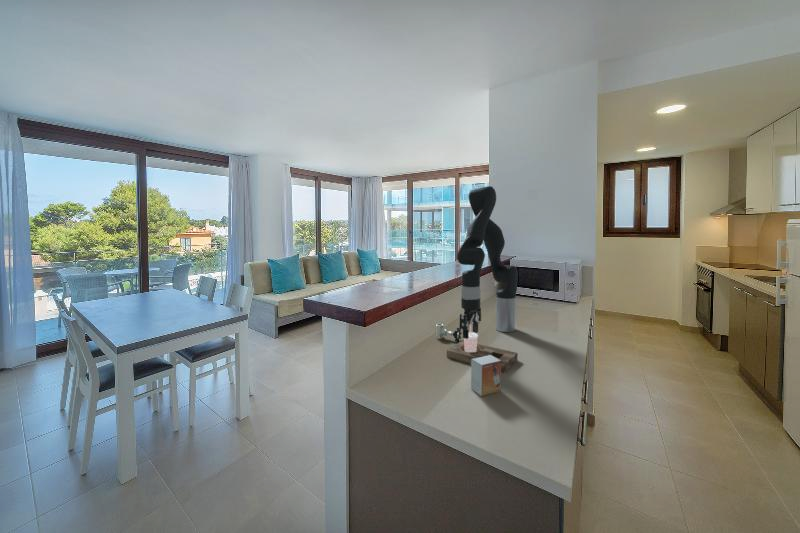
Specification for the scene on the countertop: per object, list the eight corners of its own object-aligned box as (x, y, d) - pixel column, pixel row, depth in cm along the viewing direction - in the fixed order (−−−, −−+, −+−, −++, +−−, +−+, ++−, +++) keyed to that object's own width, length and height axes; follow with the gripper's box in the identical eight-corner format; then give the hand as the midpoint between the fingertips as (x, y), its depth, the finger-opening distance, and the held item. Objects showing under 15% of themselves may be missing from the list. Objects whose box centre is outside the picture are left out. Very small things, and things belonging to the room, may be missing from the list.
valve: (432, 339, 152) (455, 344, 145) (432, 325, 151) (456, 330, 144) (439, 335, 157) (461, 339, 151) (439, 322, 156) (461, 326, 150)
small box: (481, 397, 100) (481, 365, 99) (470, 388, 105) (470, 358, 104) (501, 391, 103) (501, 360, 102) (489, 383, 108) (490, 354, 107)
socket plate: (463, 346, 142) (463, 340, 141) (517, 360, 126) (517, 353, 126) (446, 356, 131) (446, 349, 130) (503, 373, 116) (503, 365, 115)
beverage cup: (465, 351, 136) (465, 319, 134) (479, 353, 133) (479, 321, 131) (461, 356, 131) (461, 323, 129) (475, 359, 128) (476, 325, 126)
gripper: (470, 292, 136) (470, 328, 138) (453, 298, 125) (453, 338, 128) (487, 294, 132) (486, 332, 134) (471, 301, 121) (470, 342, 123)
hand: (470, 335), depth 131 cm, fingers open, 8 cm apart
